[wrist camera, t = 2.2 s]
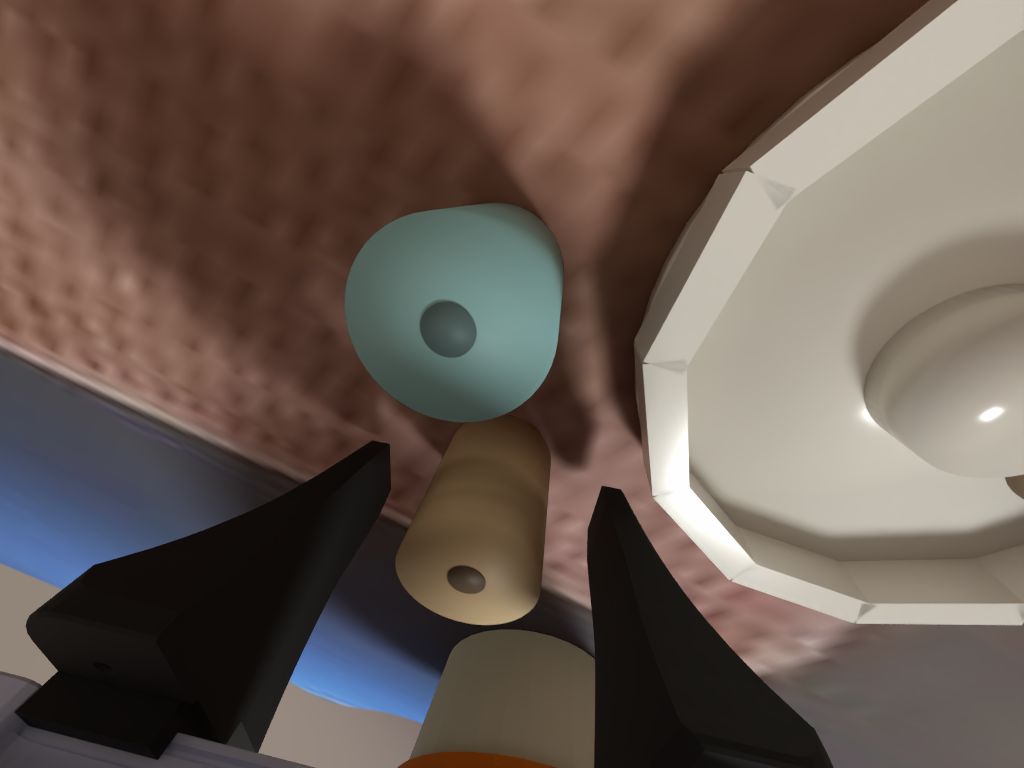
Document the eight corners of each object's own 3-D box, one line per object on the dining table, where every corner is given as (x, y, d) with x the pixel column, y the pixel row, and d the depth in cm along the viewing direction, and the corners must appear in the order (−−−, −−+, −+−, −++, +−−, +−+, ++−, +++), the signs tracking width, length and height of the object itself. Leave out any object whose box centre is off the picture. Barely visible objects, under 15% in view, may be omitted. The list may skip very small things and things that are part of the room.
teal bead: (572, 325, 11) (573, 412, 7) (455, 344, 12) (388, 433, 8) (551, 186, 10) (534, 181, 5) (418, 220, 11) (306, 240, 6)
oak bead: (558, 493, 14) (552, 627, 10) (465, 498, 15) (421, 625, 11) (540, 408, 13) (523, 523, 8) (438, 419, 14) (372, 530, 9)
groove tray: (1182, 553, 12) (1307, 627, 10) (650, 564, 15) (661, 621, 13) (1805, -260, 5) (2615, -555, 3) (608, 93, 9) (619, 63, 7)
